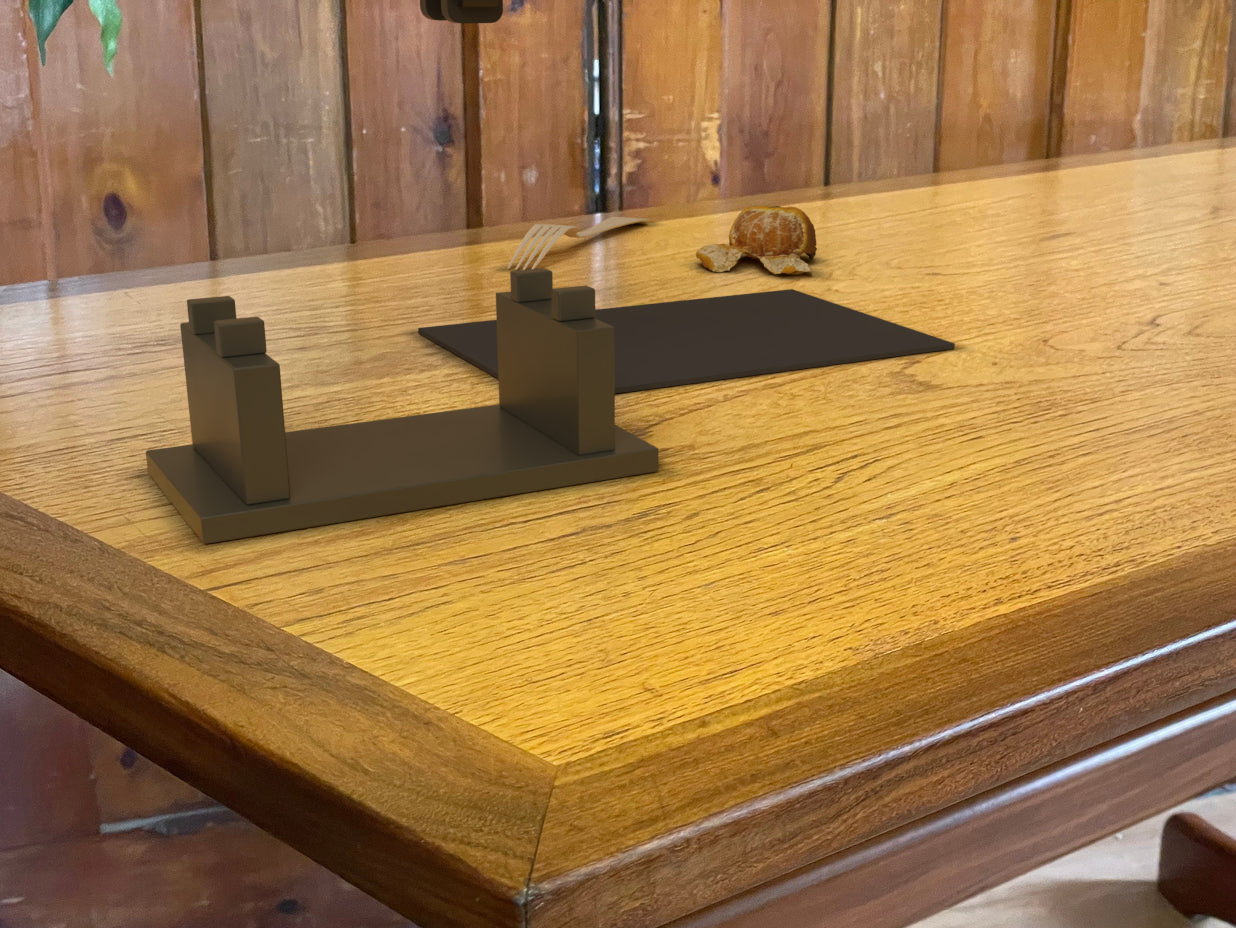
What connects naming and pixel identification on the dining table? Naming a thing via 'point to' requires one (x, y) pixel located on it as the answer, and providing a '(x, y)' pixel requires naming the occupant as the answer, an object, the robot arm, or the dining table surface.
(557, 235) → the fork
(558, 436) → the cutlery rack
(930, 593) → the dining table surface
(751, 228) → the fruit
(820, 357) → the placemat
